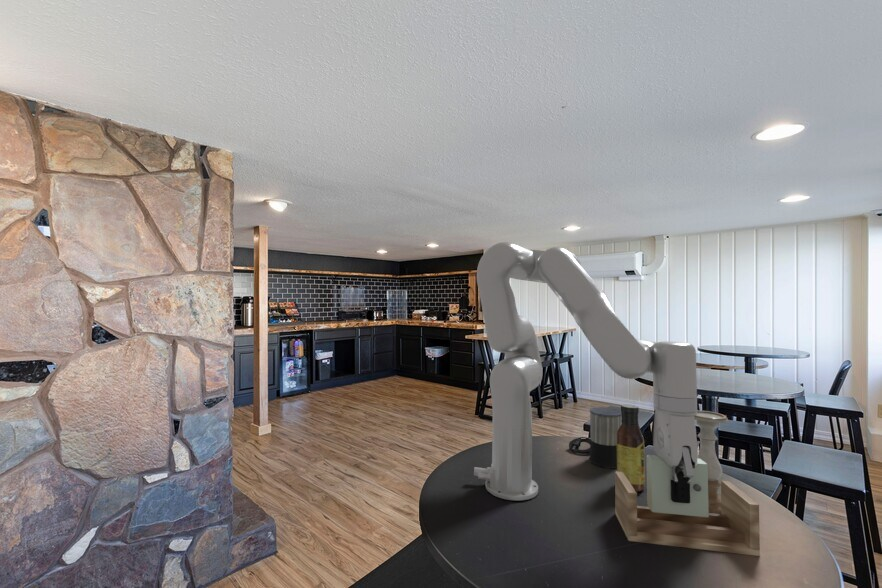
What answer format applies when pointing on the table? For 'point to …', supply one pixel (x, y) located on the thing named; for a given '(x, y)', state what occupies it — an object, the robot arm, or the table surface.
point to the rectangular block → (661, 489)
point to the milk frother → (601, 437)
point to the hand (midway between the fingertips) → (676, 496)
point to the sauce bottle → (631, 448)
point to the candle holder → (710, 454)
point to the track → (692, 522)
